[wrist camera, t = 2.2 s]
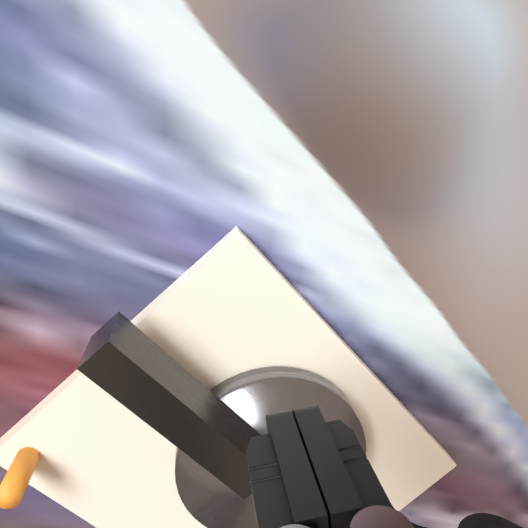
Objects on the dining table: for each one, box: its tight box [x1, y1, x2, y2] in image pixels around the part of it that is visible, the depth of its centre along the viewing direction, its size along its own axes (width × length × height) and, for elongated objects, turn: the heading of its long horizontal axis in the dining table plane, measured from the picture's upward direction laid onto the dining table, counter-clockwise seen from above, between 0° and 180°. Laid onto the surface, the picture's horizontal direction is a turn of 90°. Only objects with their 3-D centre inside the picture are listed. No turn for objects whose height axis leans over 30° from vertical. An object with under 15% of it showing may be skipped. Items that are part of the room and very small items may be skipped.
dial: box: [77, 312, 366, 528], centre depth 23 cm, size 18×11×4 cm, turn 41°
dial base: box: [0, 226, 457, 528], centre depth 26 cm, size 22×18×4 cm
